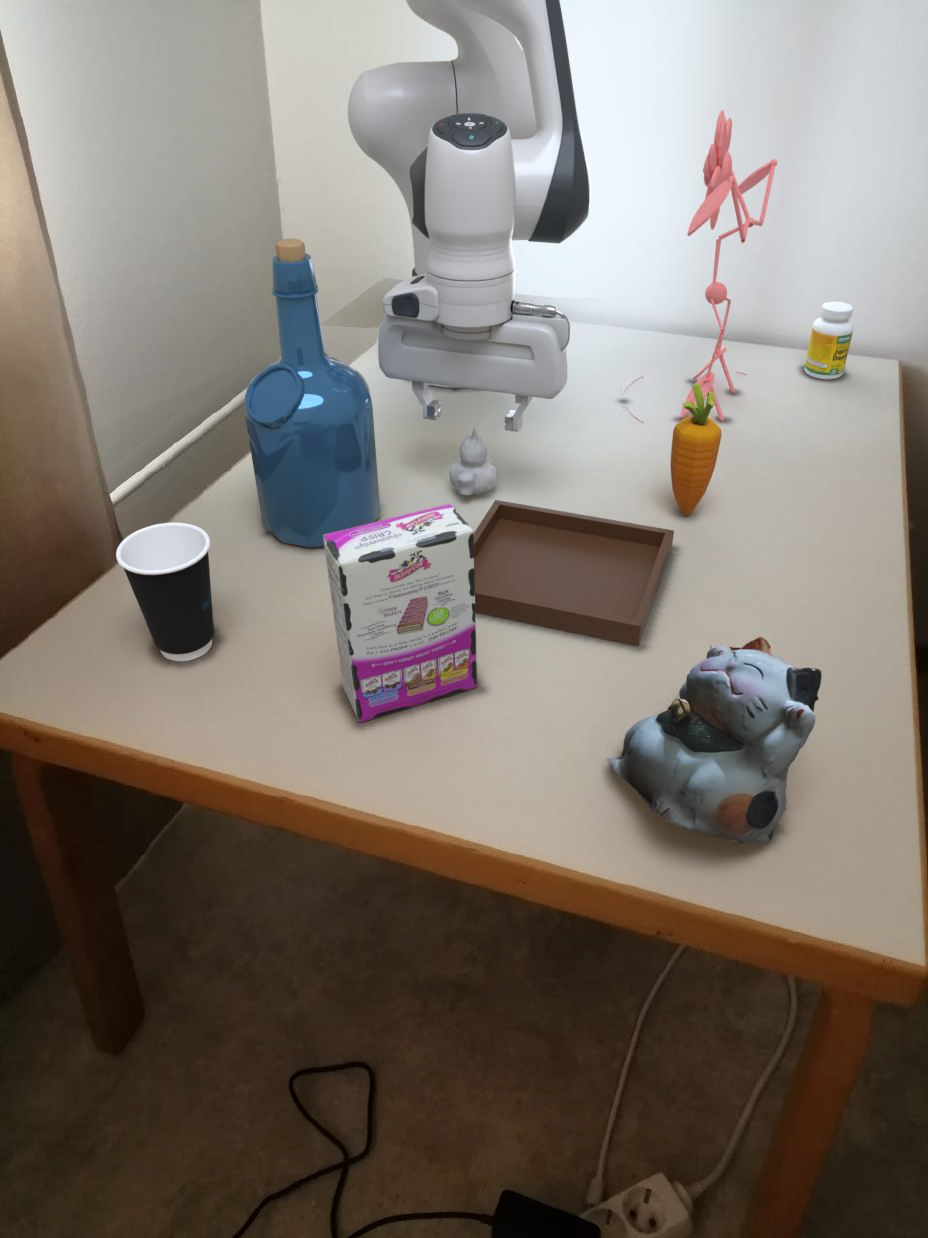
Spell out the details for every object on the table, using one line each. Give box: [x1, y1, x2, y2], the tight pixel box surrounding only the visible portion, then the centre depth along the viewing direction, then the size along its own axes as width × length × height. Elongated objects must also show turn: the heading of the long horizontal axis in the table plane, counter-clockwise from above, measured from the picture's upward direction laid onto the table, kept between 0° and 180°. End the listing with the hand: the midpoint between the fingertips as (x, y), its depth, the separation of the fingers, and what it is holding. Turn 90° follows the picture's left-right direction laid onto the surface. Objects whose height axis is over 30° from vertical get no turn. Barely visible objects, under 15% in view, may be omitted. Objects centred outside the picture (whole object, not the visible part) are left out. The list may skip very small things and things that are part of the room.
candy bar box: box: [323, 503, 478, 723], centre depth 80 cm, size 11×5×16 cm, turn 114°
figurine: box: [619, 109, 778, 424], centre depth 121 cm, size 15×26×35 cm, turn 159°
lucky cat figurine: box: [606, 636, 823, 845], centre depth 72 cm, size 15×12×14 cm
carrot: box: [670, 382, 723, 517], centre depth 103 cm, size 5×5×15 cm
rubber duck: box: [448, 426, 498, 496], centre depth 110 cm, size 5×7×8 cm
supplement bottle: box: [804, 300, 854, 380], centre depth 135 cm, size 5×5×10 cm
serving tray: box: [473, 499, 675, 647], centre depth 98 cm, size 17×20×2 cm
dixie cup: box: [115, 522, 215, 662], centre depth 87 cm, size 8×8×11 cm
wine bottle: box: [244, 238, 381, 548], centre depth 99 cm, size 14×13×30 cm
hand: (472, 423), depth 106 cm, fingers open, 8 cm apart
